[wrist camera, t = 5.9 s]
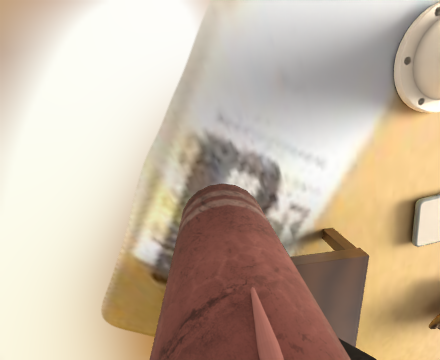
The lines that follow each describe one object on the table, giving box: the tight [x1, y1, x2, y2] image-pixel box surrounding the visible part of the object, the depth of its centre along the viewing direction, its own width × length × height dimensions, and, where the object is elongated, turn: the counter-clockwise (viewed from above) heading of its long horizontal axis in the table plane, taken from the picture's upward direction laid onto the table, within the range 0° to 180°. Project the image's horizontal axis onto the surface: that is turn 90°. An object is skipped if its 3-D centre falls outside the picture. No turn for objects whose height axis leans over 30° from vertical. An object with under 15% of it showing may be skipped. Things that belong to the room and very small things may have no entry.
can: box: [150, 184, 351, 360], centre depth 10 cm, size 6×6×14 cm
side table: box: [290, 228, 369, 347], centre depth 30 cm, size 20×16×7 cm
